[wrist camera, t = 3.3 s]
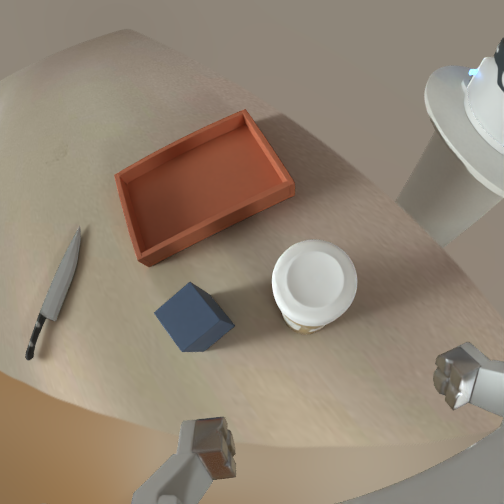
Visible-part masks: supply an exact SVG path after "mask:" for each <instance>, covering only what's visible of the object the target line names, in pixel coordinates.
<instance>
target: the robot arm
mask: <svg viewBox="0 0 504 504" xmlns="http://www.w3.org/2000/svg"><path fill="white" fill-rule="evenodd" d="M469 75H474V76H473V78H472V79H464V80H463V81H462V83H461V86H462V89H463V91H464V95H465V96H464V108H465V111H466V114H467V116H468V118H469V120H470V122H471V123H472V125H473V126H474V128H475V129H476V130H477V132H478V133H479V134H480V135H481V136H482V138H483V139H484V140H485V141H486V142H487V143H488V144H489V145H491V146H492V147H493V148H494V149H495V150H497V151H498V152H499V153H501V154H502V155H504V38H502V40H501V42H500V43H499V44H498V46H497V50H496V52H495V54H494V57H485V58H484V59H483V61H482V62H481V64H480V66H479V67H478V69H471V70H470V72H469ZM435 364H436V365H437V369H436V370H435V372H434V376H433V381H434V386H435V388H436V390H437V391H438V392H439V394H442V395H445V401H446V402H447V404H448V405H449V406H450V407H451V409H452V410H455V409H457V408H459V407H461V406H463V405H465V404H467V403H469V402H470V403H471V404H473V405H475V406H478V407H480V408H482V409H485V410H487V411H489V412H492V413H494V414H497V415H499V416H501V417H504V362H503V361H498V360H492V361H491V360H490V359H488V358H487V357H486V356H485V355H484V354H483V353H482V352H480V351H479V350H478V349H477V348H476V347H475V346H473V345H472V344H471V343H470V342H466V343H464V344H462V345H460V346H458V347H456V348H453V349H451V350H449V351H447V352H445V353H443V354H441V355H438V357H437V358H436V363H435ZM234 455H235V444H234V439H233V436H232V433H231V431H230V430H228V429H227V421H226V419H225V417H216V418H207V419H197V420H187V421H183V422H182V424H181V429H180V435H179V442H178V448H177V454H173V455H172V456H171V457H170V458H169V459H168V460H167V461H166V462H165V463H164V464H163V465H162V466H161V467H160V468H159V469H158V470H157V471H156V472H155V473H154V474H153V475H152V476H151V477H150V478H149V479H148V480H147V481H145V482H144V484H142V485H141V486H140V487H139V488H138V489H137V490H136V491H135V492H134V493H133V498H132V503H131V504H198V503H199V501H200V500H201V498H202V497H203V496H204V494H205V493H206V491H207V490H208V488H209V487H210V485H211V484H212V482H213V480H217V479H225V478H233V477H236V463H235V460H234V458H233V456H234ZM337 504H504V418H503V421H502V423H501V425H500V427H499V428H498V429H497V430H495V431H494V432H492V433H491V434H489V435H488V436H486V437H485V438H483V439H481V440H480V441H478V442H477V443H475V444H473V445H472V446H470V447H468V448H467V449H465V450H463V451H461V452H460V453H458V454H456V455H454V456H453V457H451V458H449V459H447V460H445V461H443V462H441V463H439V464H437V465H435V466H433V467H431V468H429V469H427V470H425V471H423V472H421V473H419V474H416V475H414V476H412V477H410V478H407V479H405V480H403V481H400V482H398V483H395V484H393V485H390V486H388V487H385V488H382V489H380V490H377V491H374V492H372V493H368V494H366V495H363V496H360V497H356V498H353V499H350V500H347V501H343V502H340V503H337Z"/></svg>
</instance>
